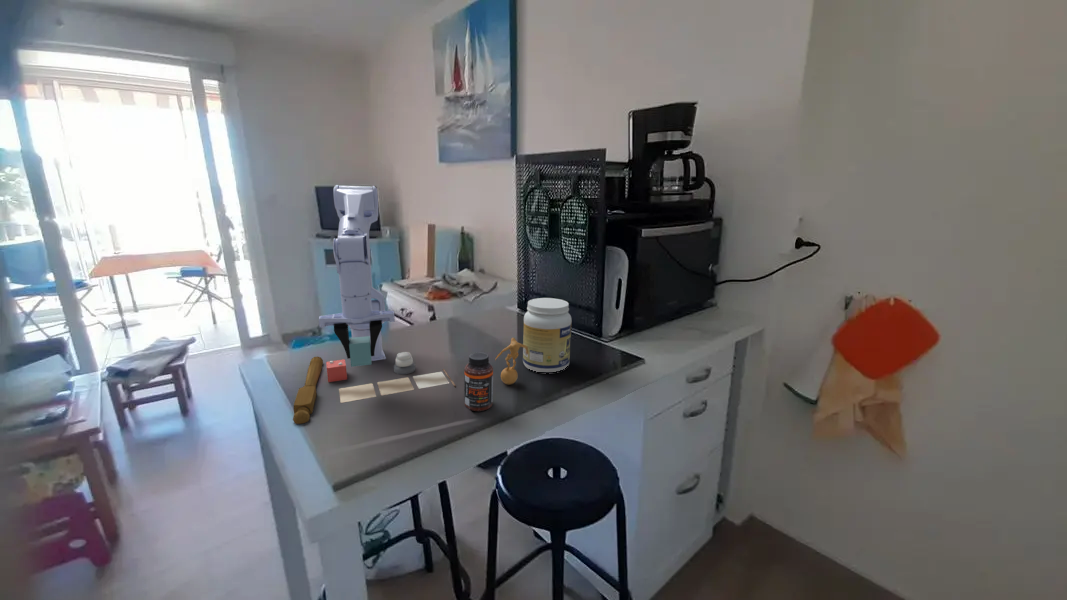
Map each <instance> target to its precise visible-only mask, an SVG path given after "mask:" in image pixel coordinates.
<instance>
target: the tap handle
mask: <svg viewBox="0 0 1067 600" xmlns="http://www.w3.org/2000/svg"><path fill="white" fill-rule="evenodd" d="M323 364H324V360H323V358H322V357H320V356H314V357H312V358H311V359H310V362H309V365H308V368H307V373H306V376H305V377H306V378H305V381H304V382H305V383H304V385H303V386H301V387H299V388H298V390H297V393H296V396H295V400H294V403H293V417H292V421H293V422H294V424H296V425H302V424H305V423H308V422H309V421H310V418H311V416H310V415H312V414H313V411H314V406H315V404H316V398H317V388H316V386H317V384H318V381H319V378H320V376H321V372H322V369H323V366H324V365H323Z"/></svg>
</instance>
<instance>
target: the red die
mask: <svg viewBox="0 0 1067 600" xmlns="http://www.w3.org/2000/svg"><path fill="white" fill-rule="evenodd" d="M326 374H327V382H328V383H332V382H340V381H345V380H348V372H347V364H346V360H345V359H338V360H337V359H336V360H330V361H326Z"/></svg>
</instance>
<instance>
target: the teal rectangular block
mask: <svg viewBox="0 0 1067 600" xmlns="http://www.w3.org/2000/svg"><path fill="white" fill-rule="evenodd" d="M349 349H350V358H349V360H350V367H352V368H353V367H354V368H355V367H361V366H369V365H370V366H371V365H372V361H371V346H370V336H365V337H354V338H352V337H349Z"/></svg>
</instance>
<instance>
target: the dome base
mask: <svg viewBox="0 0 1067 600" xmlns="http://www.w3.org/2000/svg"><path fill="white" fill-rule="evenodd" d="M415 371H416V363H415V362H413V364H412V365H410V366H407V367H399V366H396V363H394V365H393V373H395V374H396V375H397V374H398V375H408V374H412V373H414V372H415Z"/></svg>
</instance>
